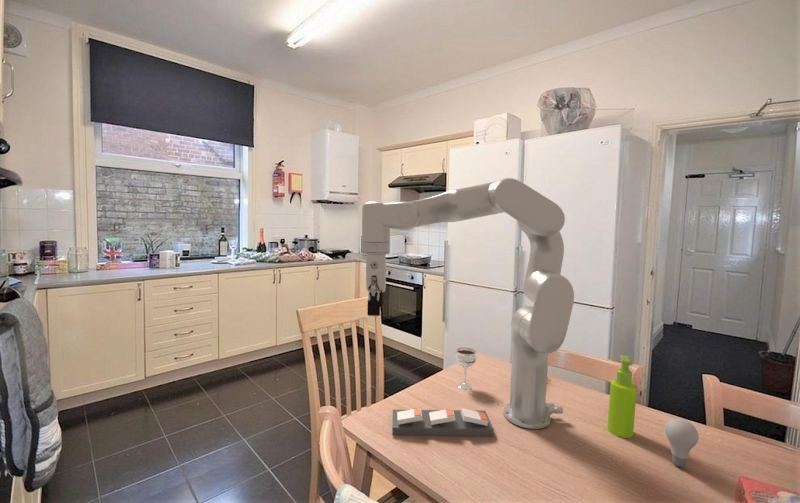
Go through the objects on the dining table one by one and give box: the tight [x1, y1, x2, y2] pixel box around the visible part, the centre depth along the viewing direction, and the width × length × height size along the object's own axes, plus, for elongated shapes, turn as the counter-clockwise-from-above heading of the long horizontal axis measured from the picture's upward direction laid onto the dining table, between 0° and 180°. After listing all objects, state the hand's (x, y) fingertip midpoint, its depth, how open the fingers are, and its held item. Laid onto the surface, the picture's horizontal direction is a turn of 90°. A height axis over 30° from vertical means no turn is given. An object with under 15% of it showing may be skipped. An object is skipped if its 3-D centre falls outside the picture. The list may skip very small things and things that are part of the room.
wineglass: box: [455, 347, 477, 390], centre depth 122 cm, size 7×7×12 cm
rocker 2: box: [461, 407, 488, 426], centre depth 97 cm, size 6×4×1 cm, turn 91°
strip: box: [391, 408, 494, 437], centre depth 98 cm, size 26×9×3 cm, turn 91°
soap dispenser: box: [607, 354, 638, 439], centre depth 97 cm, size 6×7×20 cm
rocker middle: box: [429, 407, 455, 425], centre depth 96 cm, size 6×4×1 cm, turn 90°
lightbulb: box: [664, 417, 700, 468], centre depth 84 cm, size 6×6×11 cm
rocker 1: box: [397, 407, 423, 425], centre depth 96 cm, size 6×4×1 cm, turn 90°
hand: (374, 310), depth 100 cm, fingers open, 9 cm apart
